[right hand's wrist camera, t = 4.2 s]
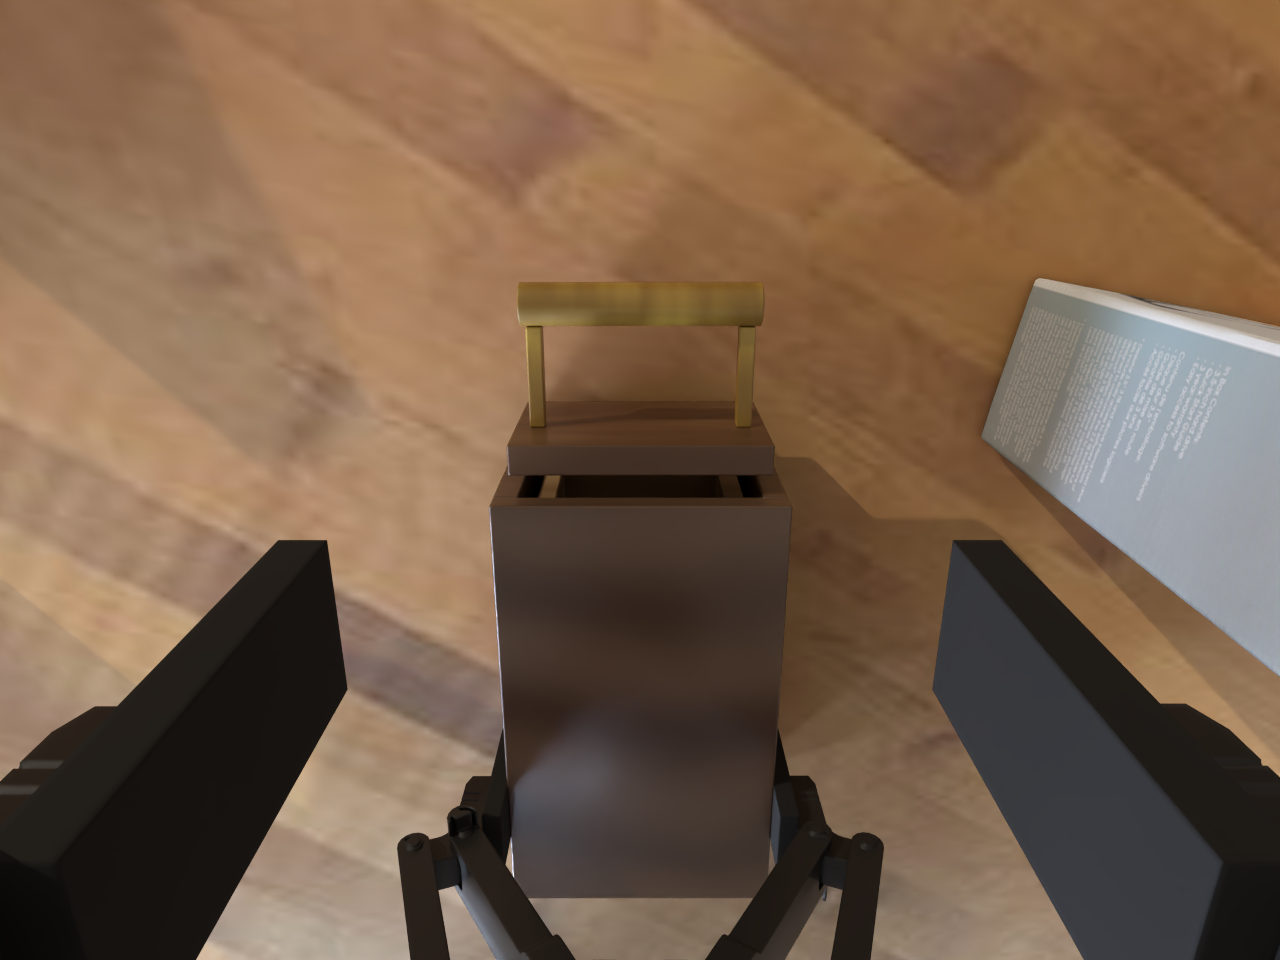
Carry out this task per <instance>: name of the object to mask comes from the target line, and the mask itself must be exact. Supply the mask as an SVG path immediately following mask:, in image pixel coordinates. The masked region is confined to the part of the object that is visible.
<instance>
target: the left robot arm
mask: <svg viewBox="0 0 1280 960" xmlns="http://www.w3.org/2000/svg"><path fill="white" fill-rule="evenodd" d="M447 822H448V833H447V834H445V835H443V836H441V837H438V838H434V839H430V840H429V838H428V836H426V835H425V834H422V833H412V834H409V835H407V836H405V837H404V838H402V839H401V840H400V842H399V843H398V847H397V850H398V859H399V867H400V875H401V884H402V892H403V900H404V909H405V917H406V925H407V934H408V942H409V950H410V959H411V960H450V956H449V951H448V945H447V939H446V933H445V927H444V921H443V915H442V909H441V903H440V897H439V892H438V890H441V889H445V888H448V887H452V886H454V887H455V888H456V890H457V892H458V894H459V895H460V897H461V899H462V901H463V902H464V904H465V906H466V908H467V909H468V911H469V913H470V915H471V916H472V918H473V920H474V922H475V923H476V925H477V927H478V928H479V930H480V932H481V934H482V935H483V937H484V939H485V941H486V942H487V944H488V946H489V948H490V949H491V951H492V953H493V955H494V956H495V958H496V960H576V959H575V958H574V956H573V955H572V954H571V952H570V951H569V949H568V948H567V946H566V945H565V943H564V942H563V940H562V939H561V937H560V936H559V935H557V934H556V935H554V936H553V935H552V934H551V933H550V931H549V930H548V928H547V927H546V925H545V924H544V922H543V921H542V919H541V918H540V916H539V915H538V913H537V912H536V910H535V909H534V907H533V906H532V904H531V903H530V901H529V900H528V898H527V897H526V895H525V894H524V892H523V891H522V889H521V888H520V886H519V885H518V883H517V882H516V880H515V879H514V877H513V876H512V874H511V873H510V871H509V870H508V868H507V867H506V865H505V864H506V859H507V854H508V849H509V843H510V838H511V835H510V820H509V804H508V789H507V776H506V760H505V745H504V730H502V734H501V738H500V742H499V746H498V751H497V755H496V759H495V763H494V767H493V771H492V775H491V776H473V777H472V778H471V779H470V780H469V781H468V783H467V784H466V786H465V790H464V794H463V797H462V801H461V804H460V806H457V807H456V808H454V809H452V810H451V811H450V812H449V814H448V817H447ZM770 839H771V844H772V849H773V854H774V860H775V867H774V868H773V870H772V871H771V873H770V874H769V876H768V877H767V879H766V880H765V882H764V883H763V885H762V886H761V888H760V889H759V891H758V892H757V894H756V895H755V897H754V898H753V900H752V901H751V903H750V904H749V906H748V907H747V909H746V910H745V912H744V913H743V915H742V916H741V918H740V919H739V921H738V922H737V924H736V925H735V927H734V928H733V930H732V931H731V933H730V934H729V935H728V936H727V935H725V934H724V935H722V936H721V937H720V939H719V940H718V942H717V943H716V945H715V946H714V948H713V949H712V950H711V952H710V953H709V955H708V956H707V958H706V959H705V960H785V958H786V957H787V955H788V953H789V951H790V950H791V948H792V946H793V945H794V943H795V941H796V939H797V938H798V936H799V934H800V932H801V931H802V929H803V927H804V925H805V924H806V922H807V920H808V918H809V917H810V915H811V913H812V911H813V910H814V908H815V906H816V905H817V903H818V901H819V899H820V898H821V896H822V895H823V901H826V896H827V886H830V887H834V888H838V889H842V890H843V892H842V897H841V903H840V909H839V915H838V921H837V927H836V933H835V938H834V944H833V950H832V956H831V960H870V959H871V951H872V942H873V934H874V926H875V918H876V909H877V901H878V893H879V884H880V876H881V868H882V859H883V851H884V846H883V843H882V841H881V840H880V839H879V838H878V837H877V836H875V835H873V834H870V833H864V832H862V833H857V834H856V835H854V836H853V838H852V839H848V838H844V837H841V836H838V835H837V834H835V833H833V832H832V830H831V828H830V827H829V826H828V825H827V824H826V821H825V817H824V814H823V810H822V807H821V803H820V801H819V796H818V794H817V789H816V785H815V783H814V782H813V781H812V780H811V779H810V777H809V776H790V775H789V771H788V767H787V763H786V759H785V755H784V751H783V747H782V742H781V738H780V734H779V730H778V731H777V746H776V761H775V776H774V789H773V804H772V819H771V834H770Z"/></svg>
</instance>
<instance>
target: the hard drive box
mask: <svg viewBox="0 0 1280 960" xmlns="http://www.w3.org/2000/svg"><path fill="white" fill-rule="evenodd" d="M981 437H982V439H983V440H984V441H985V442H986V443H987V444H989V445H990V446H991V447H992V448H994V449H995V450H996V451H997V452H999V453H1000V454H1001V455H1002V456H1003V457H1005V458H1006V459H1007V460H1008V461H1010V462H1011V463H1012V464H1013V465H1015V466H1016V467H1017V468H1018V469H1020V470H1021V471H1022V472H1023V473H1025V474H1026V475H1027V476H1028V477H1030V478H1031V479H1032V480H1033V481H1035V482H1036V483H1037V484H1039V485H1040V486H1041V487H1042V488H1043V489H1044V490H1046V491H1047V492H1048V493H1050V494H1051V495H1052V496H1053V497H1055V498H1056V499H1057V500H1058V501H1060V502H1061V503H1062V504H1064V505H1065V506H1066V507H1067V508H1069V509H1070V510H1071V511H1072V512H1074V513H1075V514H1076V515H1077V516H1078V517H1080V518H1081V519H1082V520H1083V521H1085V522H1086V523H1087V524H1088V525H1090V526H1091V527H1092V528H1093V529H1095V530H1096V531H1097V532H1098V533H1100V534H1101V535H1102V536H1104V537H1105V538H1106V539H1107V540H1109V541H1110V542H1111V543H1112V544H1114V545H1115V546H1116V547H1118V548H1119V549H1120V550H1121V551H1123V552H1124V553H1125V554H1126V555H1128V556H1129V557H1130V558H1131V559H1133V560H1134V561H1135V562H1136V563H1138V564H1139V565H1140V566H1141V567H1143V568H1144V569H1145V570H1146V571H1148V572H1149V573H1150V574H1151V575H1153V576H1154V577H1155V578H1156V579H1158V580H1159V581H1160V582H1161V583H1163V584H1164V585H1165V586H1166V587H1168V588H1169V589H1170V590H1171V591H1173V592H1174V593H1175V594H1176V595H1178V596H1179V597H1180V598H1182V599H1183V600H1184V601H1185V602H1187V603H1188V604H1189V605H1190V606H1192V607H1193V608H1194V609H1196V610H1197V611H1198V612H1199V613H1201V614H1202V615H1203V616H1205V617H1206V618H1207V619H1208V620H1210V621H1211V622H1212V623H1213V624H1215V625H1216V626H1217V627H1218V628H1220V629H1221V630H1222V631H1223V632H1225V633H1226V634H1227V635H1228V636H1229V637H1231V638H1232V639H1233V640H1234V641H1236V642H1237V643H1238V644H1239V645H1241V646H1242V647H1243V648H1244V649H1246V650H1247V651H1248V652H1249V653H1251V654H1252V655H1253V656H1254V657H1256V658H1257V659H1258V660H1259V661H1261V662H1262V663H1263V664H1264V665H1266V666H1267V667H1268V668H1269V669H1271V670H1272V671H1273V672H1274V673H1276V674H1277V675H1278V676H1279V677H1280V326H1278V325H1273V324H1268V323H1263V322H1258V321H1253V320H1248V319H1243V318H1238V317H1233V316H1229V315H1224V314H1219V313H1214V312H1209V311H1204V310H1199V309H1194V308H1189V307H1185V306H1180V305H1174V304H1170V303H1165V302H1160V301H1155V300H1150V299H1145V298H1140V297H1135V296H1131V295H1126V294H1121V293H1116V292H1110V291H1105V290H1100V289H1095V288H1090V287H1084V286H1079V285H1074V284H1069V283H1064V282H1059V281H1054V280H1048V279H1042V278H1038V279H1037V280H1036V281H1035V283H1034V285H1033V288H1032V290H1031V293H1030V296H1029V299H1028V301H1027V304H1026V307H1025V310H1024V313H1023V316H1022V319H1021V322H1020V324H1019V327H1018V330H1017V333H1016V336H1015V338H1014V341H1013V344H1012V347H1011V350H1010V353H1009V356H1008V358H1007V361H1006V364H1005V367H1004V370H1003V373H1002V376H1001V379H1000V381H999V384H998V387H997V390H996V393H995V396H994V399H993V401H992V404H991V407H990V411H989V414H988V417H987V420H986V423H985V426H984V429H983V432H982V436H981Z"/></svg>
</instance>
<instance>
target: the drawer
mask: <svg viewBox="0 0 1280 960" xmlns="http://www.w3.org/2000/svg"><path fill="white" fill-rule="evenodd" d="M517 313H518V320H519V324H520V326H527V327H526V350H527V372H528V394H529V402H528V403H527V405H526V407H525V409H524V411H523V413H522V415H521V418H520V420H519V422H518V424H517V426H516V428H515V430H514V432H513V434H512V436H511V438H510V440H509V443H508V445H507V463H508V474H509V475H510V476H544V479H543V482H542V486H541V489H540V492H539V495H538V498H744V497H743V494H742V491H741V488H740V485H739V482H738V478H737V476H771V475H773V468H774V450H775V446H774V444H773V442H772V440H771V438H770V436H769V434H768V432H767V430H766V428H765V426H764V424H763V422H762V419H761V417H760V415H759V413H758V411H757V409H756V407H755V405H754V403H753V402H752V398H753V377H754V355H755V334H756V328H755V326H761V324H762V321H763V315H764V287H763V284H762V283H761V282H520V283H519V284H518V289H517ZM543 326H738V347H737V372H736V397H735V402H546V394H545V369H544V343H543Z"/></svg>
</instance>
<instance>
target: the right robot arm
mask: <svg viewBox="0 0 1280 960" xmlns="http://www.w3.org/2000/svg"><path fill="white" fill-rule="evenodd" d="M346 691H347V682H346V675H345V668H344V660H343V653H342V646H341V639H340V631H339V624H338V617H337V610H336V603H335V595H334V588H333V581H332V574H331V566H330V559H329V552H328V545H327V540H278V541H277V542H276V543H275V544H274V545H273V546H272V547H271V548H270V549H269V551H268V552H267V553H266V554H265V555H264V556H263V557H262V558H261V559H260V560H259V561H258V562H257V563H256V564H255V565H254V566H253V567H252V568H251V569H250V570H249V571H248V572H247V573H246V574H245V575H244V576H243V577H242V578H241V579H240V580H239V581H238V582H237V583H236V585H235V586H234V587H233V588H232V589H231V590H230V591H229V592H228V593H227V594H226V595H225V596H224V597H223V598H222V599H221V600H220V601H219V602H218V603H217V604H216V605H215V606H214V607H213V608H212V609H211V610H210V611H209V612H208V613H207V614H206V615H205V616H204V617H203V619H202V620H201V621H200V622H199V623H198V624H197V625H196V626H195V627H194V628H193V629H192V630H191V631H190V632H189V633H188V634H187V635H186V636H185V637H184V638H183V639H182V640H181V641H180V642H179V643H178V644H177V645H176V646H175V647H174V648H173V649H172V650H171V651H170V652H169V654H168V655H167V656H166V657H165V658H164V659H163V660H162V661H161V662H160V663H159V664H158V665H157V666H156V667H155V668H154V669H153V670H152V671H151V672H150V673H149V674H148V675H147V676H146V677H145V678H144V679H143V680H142V681H141V682H140V683H139V684H138V685H137V686H136V688H135V689H134V690H133V691H132V692H131V693H130V694H129V695H128V696H127V697H126V698H125V699H124V700H123V701H122V702H121V703H120V704H119V705H118V706H95V707H93V708H92V709H90V710H88V711H87V712H85V713H83V714H82V715H80V716H78V717H77V718H75V719H73V720H71V721H70V722H68V723H66V724H65V725H63V726H61V727H60V728H58V729H56V730H55V731H53V732H51V733H50V734H49V735H48V736H47V737H46V738H45V739H44V740H43V741H42V742H41V743H40V744H39V745H38V746H37V747H36V748H35V749H34V750H33V751H32V752H31V753H29V754H28V755H27V756H26V757H25V758H24V759H23V760H22V761H21V762H20V767H19V769H13V770H12V771H11V772H10V773H9V774H8V775H7V776H5V777H4V778H3V779H2V780H1V781H0V960H196V959H197V957H198V955H199V953H200V952H201V950H202V948H203V946H204V945H205V943H206V941H207V939H208V937H209V936H210V934H211V932H212V930H213V928H214V927H215V925H216V923H217V921H218V920H219V918H220V916H221V914H222V912H223V911H224V909H225V907H226V905H227V903H228V902H229V900H230V898H231V896H232V895H233V893H234V891H235V889H236V887H237V886H238V884H239V882H240V880H241V879H242V877H243V875H244V873H245V871H246V870H247V868H248V866H249V864H250V862H251V861H252V859H253V857H254V855H255V854H256V852H257V850H258V848H259V846H260V845H261V843H262V841H263V839H264V837H265V836H266V834H267V832H268V830H269V829H270V827H271V825H272V823H273V821H274V820H275V818H276V816H277V814H278V813H279V811H280V809H281V807H282V805H283V804H284V802H285V800H286V798H287V796H288V795H289V793H290V791H291V789H292V788H293V786H294V784H295V782H296V780H297V779H298V777H299V775H300V773H301V772H302V770H303V768H304V766H305V764H306V763H307V761H308V759H309V757H310V755H311V754H312V752H313V750H314V748H315V747H316V745H317V743H318V741H319V739H320V738H321V736H322V734H323V732H324V730H325V729H326V727H327V725H328V723H329V722H330V720H331V718H332V716H333V714H334V713H335V711H336V709H337V707H338V706H339V704H340V702H341V700H342V698H343V697H344V695H345V693H346ZM933 691H934V693H935V695H936V697H937V698H938V700H939V702H940V704H941V706H942V707H943V709H944V711H945V713H946V714H947V716H948V718H949V720H950V722H951V723H952V725H953V727H954V729H955V731H956V732H957V734H958V736H959V738H960V739H961V741H962V743H963V745H964V747H965V748H966V750H967V752H968V754H969V755H970V757H971V759H972V761H973V763H974V764H975V766H976V768H977V770H978V772H979V773H980V775H981V777H982V779H983V780H984V782H985V784H986V786H987V788H988V789H989V791H990V793H991V795H992V797H993V798H994V800H995V802H996V804H997V805H998V807H999V809H1000V811H1001V813H1002V814H1003V816H1004V818H1005V820H1006V821H1007V823H1008V825H1009V827H1010V829H1011V830H1012V832H1013V834H1014V836H1015V838H1016V839H1017V841H1018V843H1019V845H1020V846H1021V848H1022V850H1023V852H1024V854H1025V855H1026V857H1027V859H1028V861H1029V862H1030V864H1031V866H1032V868H1033V870H1034V871H1035V873H1036V875H1037V877H1038V879H1039V880H1040V882H1041V884H1042V886H1043V887H1044V889H1045V891H1046V893H1047V895H1048V896H1049V898H1050V900H1051V902H1052V904H1053V905H1054V907H1055V909H1056V911H1057V912H1058V914H1059V916H1060V918H1061V920H1062V921H1063V923H1064V925H1065V927H1066V928H1067V930H1068V932H1069V934H1070V936H1071V937H1072V939H1073V941H1074V943H1075V945H1076V946H1077V948H1078V950H1079V952H1080V953H1081V955H1082V957H1083V959H1084V960H1280V777H1279V776H1278V775H1277V774H1276V773H1275V772H1273V771H1272V770H1271V769H1270V768H1269V767H1268V766H1262V764H1261V759H1260V758H1259V757H1258V756H1257V755H1256V754H1255V753H1254V752H1252V751H1251V750H1250V749H1249V748H1248V747H1247V746H1246V745H1245V744H1244V743H1243V742H1242V741H1241V740H1240V739H1239V738H1238V737H1237V736H1236V735H1235V734H1234V733H1233V732H1231V731H1230V730H1229V729H1228V728H1226V727H1224V726H1223V725H1221V724H1219V723H1218V722H1216V721H1214V720H1212V719H1211V718H1209V717H1207V716H1206V715H1204V714H1202V713H1201V712H1199V711H1197V710H1196V709H1194V708H1192V707H1190V706H1189V705H1187V704H1160V703H1159V702H1158V701H1157V700H1156V699H1155V698H1154V697H1153V696H1152V695H1151V694H1150V693H1149V692H1148V691H1147V690H1146V689H1145V688H1144V687H1143V685H1142V684H1141V683H1140V682H1139V681H1138V680H1137V679H1136V678H1135V677H1134V676H1133V675H1132V674H1131V673H1130V672H1129V671H1128V670H1127V669H1126V668H1125V667H1124V666H1123V665H1122V664H1121V663H1120V662H1119V661H1118V660H1117V659H1116V658H1115V657H1114V656H1113V655H1112V654H1111V653H1110V651H1109V650H1108V649H1107V648H1106V647H1105V646H1104V645H1103V644H1102V643H1101V642H1100V641H1099V640H1098V639H1097V638H1096V637H1095V636H1094V635H1093V634H1092V633H1091V632H1090V631H1089V630H1088V629H1087V628H1086V627H1085V626H1084V625H1083V624H1082V623H1081V622H1080V621H1079V620H1078V619H1077V617H1076V616H1075V615H1074V614H1073V613H1072V612H1071V611H1070V610H1069V609H1068V608H1067V607H1066V606H1065V605H1064V604H1063V603H1062V602H1061V601H1060V600H1059V599H1058V598H1057V597H1056V596H1055V595H1054V594H1053V593H1052V592H1051V591H1050V590H1049V589H1048V588H1047V587H1046V586H1045V585H1044V583H1043V582H1042V581H1041V580H1040V579H1039V578H1038V577H1037V576H1036V575H1035V574H1034V573H1033V572H1032V571H1031V570H1030V569H1029V568H1028V567H1027V566H1026V565H1025V564H1024V563H1023V562H1022V561H1021V560H1020V559H1019V558H1018V557H1017V556H1016V555H1015V554H1014V553H1013V552H1012V551H1011V549H1010V548H1009V547H1008V546H1007V545H1006V544H1005V543H1004V542H1003V541H1002V540H953V544H952V552H951V559H950V566H949V573H948V581H947V588H946V595H945V602H944V610H943V617H942V624H941V631H940V639H939V646H938V653H937V660H936V667H935V675H934V682H933Z"/></svg>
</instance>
